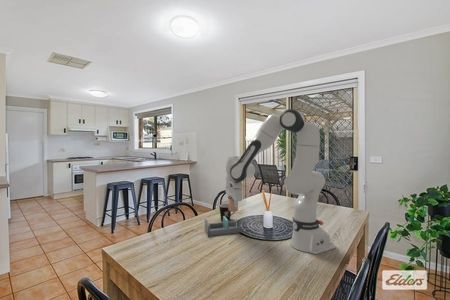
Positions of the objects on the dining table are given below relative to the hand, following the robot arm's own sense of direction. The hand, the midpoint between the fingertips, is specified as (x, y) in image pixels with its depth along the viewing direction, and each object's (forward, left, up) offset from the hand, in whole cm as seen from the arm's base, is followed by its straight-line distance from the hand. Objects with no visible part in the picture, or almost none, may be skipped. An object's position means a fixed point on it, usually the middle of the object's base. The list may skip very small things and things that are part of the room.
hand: (233, 204), depth 136 cm
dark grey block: (+7, 0, -16) cm, 17 cm away
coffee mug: (-1, -17, -16) cm, 23 cm away
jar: (0, 0, -4) cm, 4 cm away
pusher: (+5, 0, -15) cm, 16 cm away
